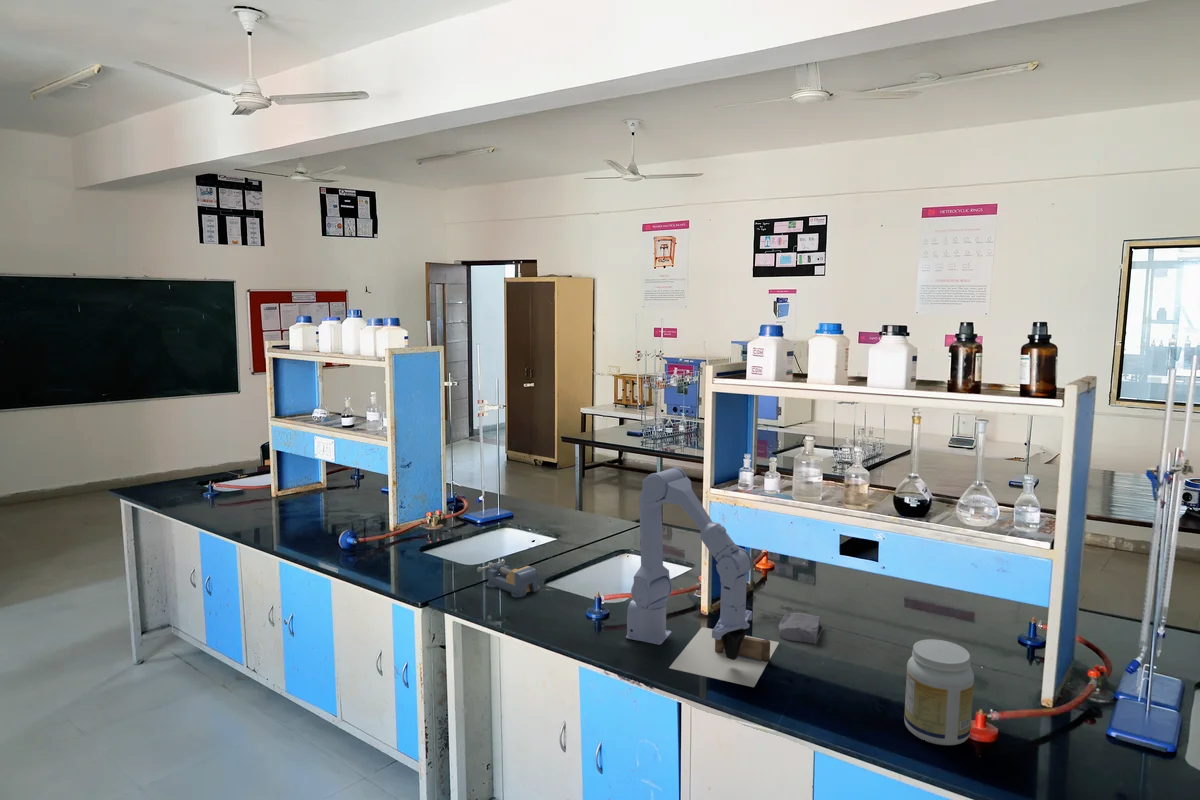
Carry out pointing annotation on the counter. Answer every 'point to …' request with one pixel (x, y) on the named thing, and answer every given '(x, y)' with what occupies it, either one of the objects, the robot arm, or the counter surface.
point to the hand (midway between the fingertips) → (731, 657)
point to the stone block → (799, 627)
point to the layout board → (719, 661)
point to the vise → (512, 578)
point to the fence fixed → (719, 646)
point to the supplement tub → (939, 692)
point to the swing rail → (755, 649)
